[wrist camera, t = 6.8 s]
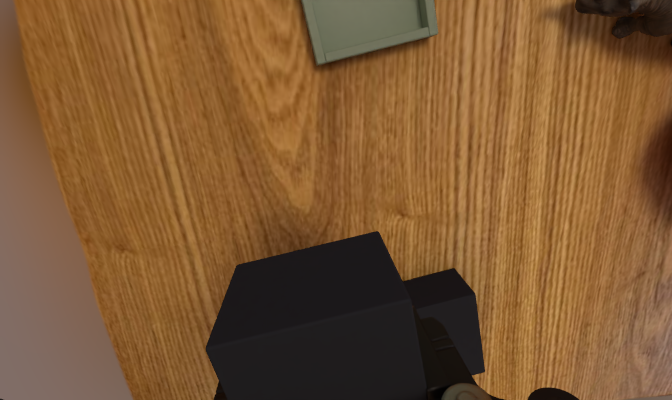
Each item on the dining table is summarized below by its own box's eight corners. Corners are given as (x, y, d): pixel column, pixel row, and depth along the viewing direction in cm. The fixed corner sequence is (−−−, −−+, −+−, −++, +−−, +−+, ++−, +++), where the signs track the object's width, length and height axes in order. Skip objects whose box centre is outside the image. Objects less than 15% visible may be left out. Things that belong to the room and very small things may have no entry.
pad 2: (413, 352, 33) (428, 387, 30) (399, 282, 31) (412, 310, 27) (464, 339, 33) (485, 372, 30) (454, 267, 31) (475, 293, 27)
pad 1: (296, 428, 15) (292, 549, 11) (236, 264, 12) (203, 349, 8) (412, 400, 15) (449, 511, 11) (378, 229, 12) (411, 299, 8)
